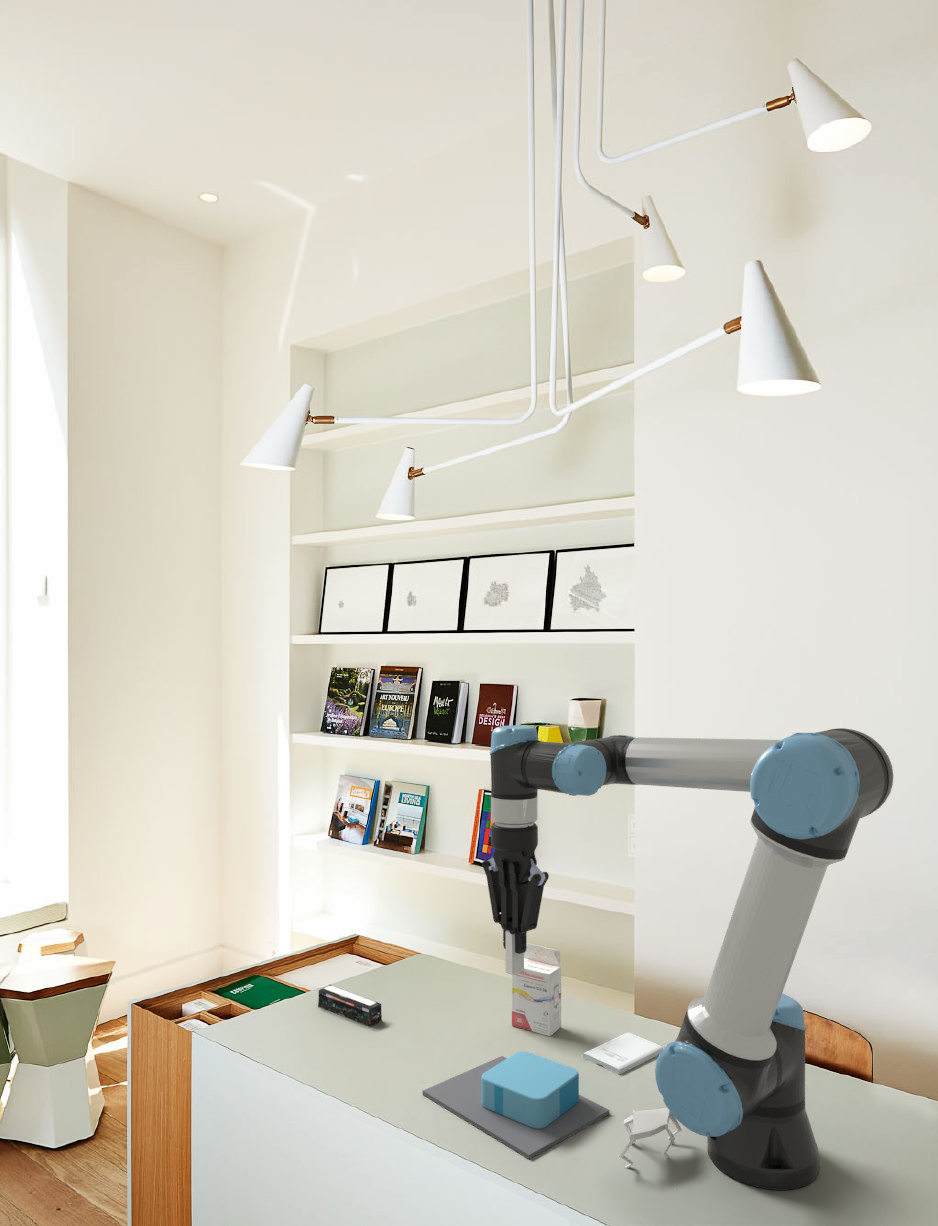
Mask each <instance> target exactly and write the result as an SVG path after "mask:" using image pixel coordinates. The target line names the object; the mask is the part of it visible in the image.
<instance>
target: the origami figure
mask: <svg viewBox="0 0 938 1226" xmlns="http://www.w3.org/2000/svg"><path fill="white" fill-rule="evenodd" d="M631 1111H632V1113H631V1114H630V1116H628V1117H627V1118H625V1119H624V1120H623V1125H624V1127H625V1129H626V1131H627V1133H628V1135H629V1140H628V1143H627V1144H626V1147H625V1148H624V1149H623V1150H622V1152H621V1153H620V1155H619V1158H621V1159H622V1160H624V1161H625V1162H627V1163H628V1164H627V1165H625V1169H628V1168H630V1167H632V1166H633V1165H634V1161H633V1160H631V1159H629V1157H627V1156H626V1154H627V1153H628V1151H629V1149H630V1148H631V1146H632V1145H634V1144H637V1142H636V1141H637V1140H641V1139H646V1138H650V1137H653V1136H656V1135H657V1134H659V1133H661V1132H663V1131H666V1132H667V1134H668V1137H667V1140H668V1141H669V1143H668V1145H667V1147H666V1149H665V1150H664V1154H663V1155H664V1156H665V1157H664V1158H665V1159H667V1160H669V1158H670V1156H669V1154H668V1153H667V1152H668V1150H669V1149H670V1148H671V1146H672V1145H674V1144H675V1140H676V1138H675V1136H676V1135H678V1134H679V1133H680V1132H682V1130H683V1129H682V1127H681V1126H680V1123H679V1121H678V1120H677V1119H676V1118H675V1117H674V1116H673V1115H672V1113H671V1112H670V1111H669V1109H668V1108H667V1107H662V1108H655V1109H654V1108H653V1109H646V1110H645V1109H642V1110H635V1109H633V1108H632V1110H631ZM670 1120H671V1122H672V1123H673V1125H674V1126H675V1128H676V1129H677V1130H676V1131H673V1133H672V1132H671V1130H670V1128H669V1122H670ZM630 1124H632V1129H631V1127H630Z"/></svg>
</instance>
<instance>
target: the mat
mask: <svg viewBox="0 0 938 1226" xmlns="http://www.w3.org/2000/svg"><path fill="white" fill-rule="evenodd" d="M507 1058H508V1057H505V1056H503V1055H501V1056H499V1057H496V1058H494V1059H491V1060H489V1061H487V1062H485V1063H482V1064H481V1065H478V1066H475V1067H473V1068H472V1069H469V1070H467V1071H464V1072H462V1073H459V1074H458V1075H455V1076H453V1077H451V1078H448V1079H446V1080H444V1081H442V1082H438V1083H437V1084H434V1085H432V1086H430V1087H428V1088H425V1089H423V1090H422V1095H423V1096H424V1097H426V1098H428V1099H429V1100H431V1101H433V1102H434V1103H435V1104H438V1105H440V1106H441V1107H443V1108H444V1109H446V1110H447V1111H449V1112H451V1113H452V1114H454V1115H456V1116H457V1117H459V1118H461V1119H462V1120H464V1121H465V1122H467V1123H468V1124H470V1125H472V1126H474V1127H475V1128H477V1129H479V1130H480V1131H481V1132H484V1133H486V1134H487V1135H489V1136H490V1137H492V1138H493V1139H495V1140H497V1142H500V1143H502V1144H503V1145H504V1146H507V1147H509V1148H510V1149H512V1150H513V1151H515V1152H517V1153H518V1154H520V1155H522V1156H523V1157H525V1158H526V1159H528V1160H531V1159H532V1158H533V1157H536V1156H537V1155H539V1154H541V1153H543V1152H544V1151H547V1150H548V1149H550V1148H552V1147H553V1146H556V1145H557V1144H559V1143H561V1142H562V1141H564V1140H565V1139H568V1138H570V1137H571V1136H573V1135H575V1134H576V1133H579V1132H580V1131H581V1130H583V1129H585V1128H587V1127H589V1126H590V1125H592V1124H594V1123H596V1122H597V1121H600V1120H601V1119H603V1118H604V1117H607V1116H608V1115H610V1114H611V1113H610V1109H608V1108H606V1107H605V1106H603V1105H600V1104H598V1102H597V1103H596V1102H595V1101H593V1100H590V1099H589V1098H586V1097H585V1096H582V1095H581V1094H579V1101H578V1102H577V1103H576V1104H575V1105H574V1106H572V1107H571V1108H570V1109H568V1110H567V1111H566V1112H565V1113H563V1114H562V1115H561V1116H559V1117H558V1118H557V1119H555V1120H554V1121H553V1122H552V1123H550V1124H549V1125H548V1126H546V1127H545V1128H542V1129H535V1128H532V1127H529V1126H527V1125H524V1124H522V1123H520V1122H517V1121H515V1120H513V1119H510V1118H508V1117H505V1116H503V1115H501V1114H498V1113H496V1112H494V1111H491V1110H489V1109H486V1108H485V1107H483V1106H482V1103H481V1089H482V1074H483V1073H485V1072H486V1071H488V1070H490V1069H491V1068H493V1067H494V1066H496V1065H498V1064H499V1063H501V1062H502V1061H504V1060H506V1059H507Z"/></svg>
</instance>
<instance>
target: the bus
mask: <svg viewBox="0 0 938 1226" xmlns="http://www.w3.org/2000/svg"><path fill="white" fill-rule="evenodd" d="M317 1001H318V1002H317V1003H318V1005H317V1007H318V1008H321V1009H324V1010H326V1011H329V1012H331V1013H334V1014H337V1015H339V1016H341V1017H344V1018H346V1019H349V1020H351V1021H354V1022H357V1023H359V1024H361V1025H364V1026H366V1027H372V1026H375V1025H377V1024H379V1023H381V1022H382V1017H383V1016H382V1015H383V1014H382V1003H380V1002H378V1001H375V1000H373V999H369V998H367V997H364V996H362V995H359V994H357V993H354V992H351V991H349V990H345V989H342V988H340V987H337V986H334V985H332V984H328V985H327V986H324V987H322V988H320V989H319V990H318V1000H317Z"/></svg>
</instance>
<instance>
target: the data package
mask: <svg viewBox="0 0 938 1226" xmlns="http://www.w3.org/2000/svg"><path fill="white" fill-rule="evenodd" d="M506 1058H507V1059H506V1060H504V1061H502V1062H501V1063H499V1064H498V1065H496V1066H494V1067H493V1068H491V1069H490V1070H488V1071H486V1072H485V1073H483V1074H482V1089H481V1103H482V1106H483V1107H485V1108H486V1109H489V1110H491V1111H494V1112H496V1113H498V1114H501V1115H503V1116H505V1117H508V1118H510V1119H513V1120H515V1121H517V1122H520V1123H522V1124H524V1125H527V1126H529V1127H532V1128H535V1129H542V1128H545V1127H546V1126H548V1125H549V1124H550V1123H552V1122H553V1121H554V1120H555V1119H557V1118H558V1117H559V1116H561V1115H562V1114H563V1113H565V1112H566V1111H567V1110H568V1109H570V1108H571V1107H572V1106H574V1105H575V1104H576V1103H577V1102H578V1101H579V1095H580V1094H579V1092H580V1085H579V1082H580V1080H579V1078H580V1076H579V1075H580V1074H579V1071H578V1070H577V1069H576V1068H574V1067H571V1066H569V1065H566V1064H563V1063H560V1062H557V1061H555V1060H551V1059H549V1058H546V1057H544V1056H541V1055H537V1054H535V1053H533V1052H532V1053H531V1052H529V1051H525V1050H524V1051H522V1050H521V1051H518V1052H515V1053H514V1054H512V1055H510V1056H509V1057H506Z"/></svg>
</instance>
